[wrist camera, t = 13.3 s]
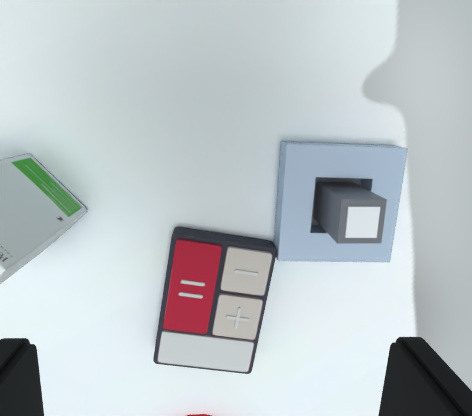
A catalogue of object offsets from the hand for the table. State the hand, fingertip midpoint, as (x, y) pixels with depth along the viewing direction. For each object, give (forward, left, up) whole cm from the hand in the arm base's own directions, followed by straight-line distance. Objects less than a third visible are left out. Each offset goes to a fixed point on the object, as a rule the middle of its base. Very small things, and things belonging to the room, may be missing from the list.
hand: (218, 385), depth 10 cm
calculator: (+14, +1, -31) cm, 34 cm away
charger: (+2, +13, -30) cm, 33 cm away
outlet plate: (+2, +13, -30) cm, 33 cm away
